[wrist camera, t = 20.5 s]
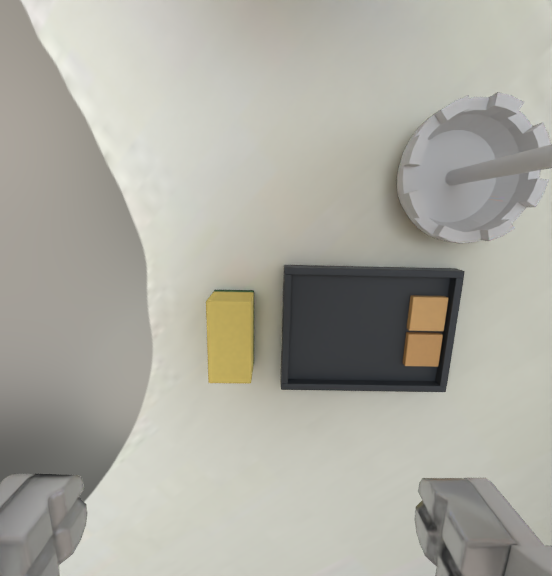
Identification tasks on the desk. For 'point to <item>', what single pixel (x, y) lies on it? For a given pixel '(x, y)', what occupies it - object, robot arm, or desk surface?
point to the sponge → (230, 336)
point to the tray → (361, 327)
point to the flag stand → (473, 169)
